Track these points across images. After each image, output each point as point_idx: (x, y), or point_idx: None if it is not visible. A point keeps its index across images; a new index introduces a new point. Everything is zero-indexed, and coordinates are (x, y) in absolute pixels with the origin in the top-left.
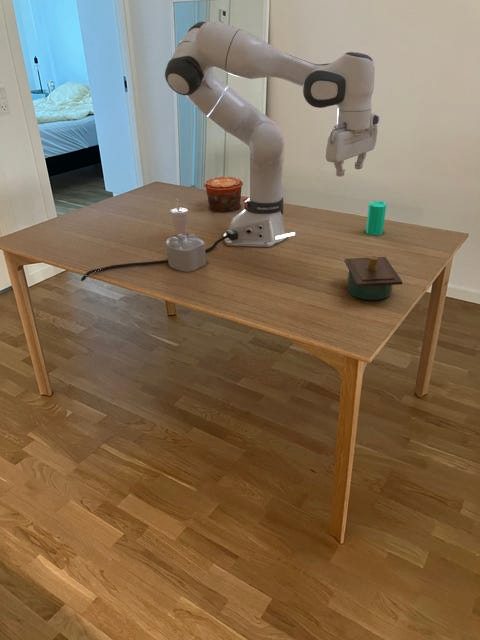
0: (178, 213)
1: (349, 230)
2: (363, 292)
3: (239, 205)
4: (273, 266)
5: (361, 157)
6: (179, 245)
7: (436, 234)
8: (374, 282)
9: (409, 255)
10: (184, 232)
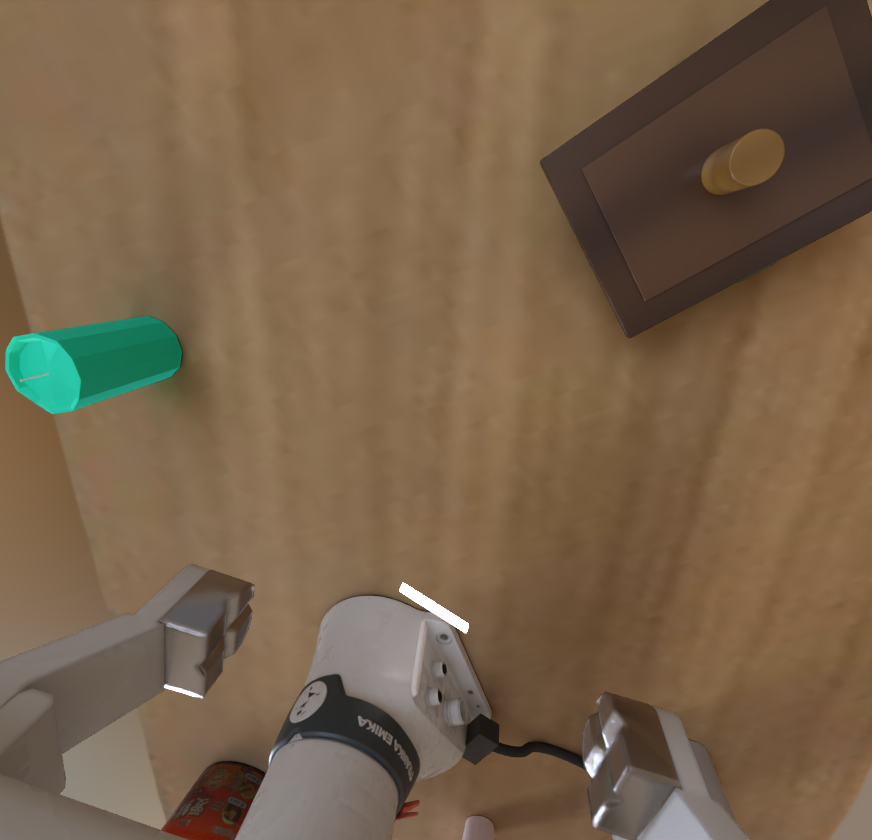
0: None
1: (190, 434)
2: None
3: (222, 768)
4: (584, 564)
5: (70, 699)
6: None
7: (20, 98)
8: None
9: (278, 143)
10: (484, 832)
